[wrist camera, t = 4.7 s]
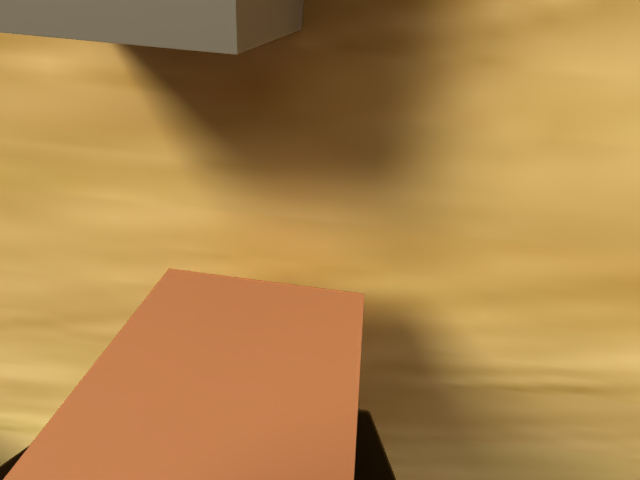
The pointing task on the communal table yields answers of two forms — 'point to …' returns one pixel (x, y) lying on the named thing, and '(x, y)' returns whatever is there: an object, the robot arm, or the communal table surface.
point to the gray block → (157, 22)
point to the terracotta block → (214, 389)
